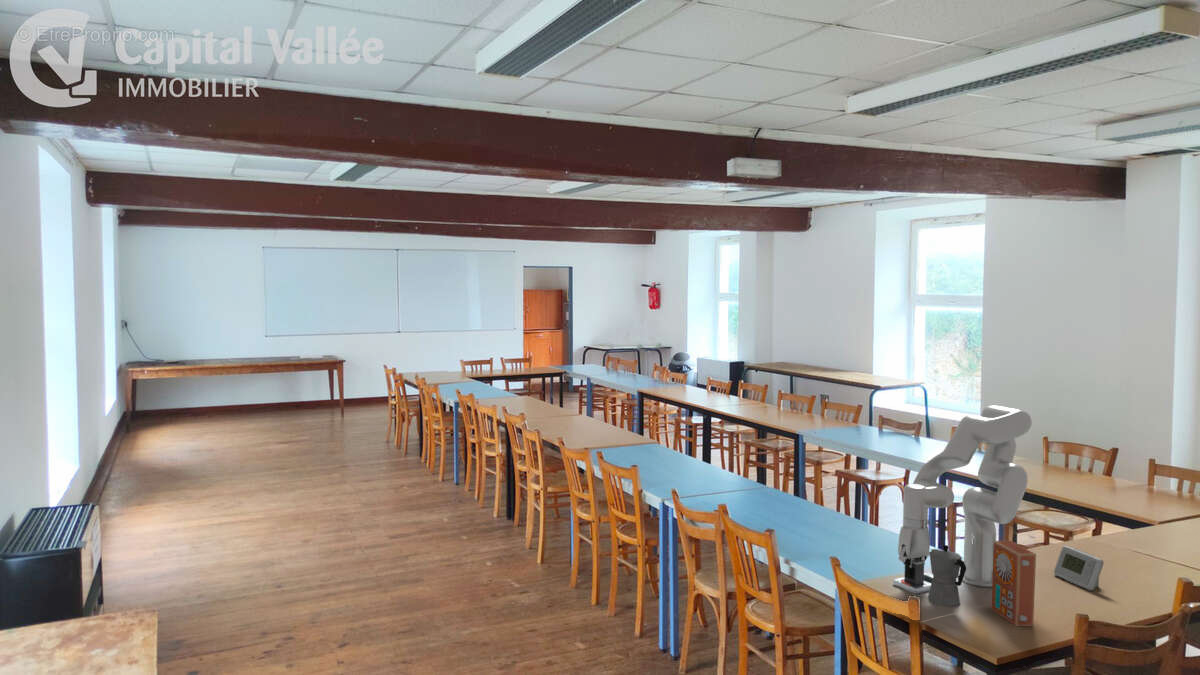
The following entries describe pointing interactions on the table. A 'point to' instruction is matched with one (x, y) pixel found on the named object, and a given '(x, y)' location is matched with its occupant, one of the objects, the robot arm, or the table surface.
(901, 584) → the power strip
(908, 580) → the plug
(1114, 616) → the table surface
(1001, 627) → the table surface
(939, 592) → the coffeepot
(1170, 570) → the table surface
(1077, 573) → the digital clock
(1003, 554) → the control panel
